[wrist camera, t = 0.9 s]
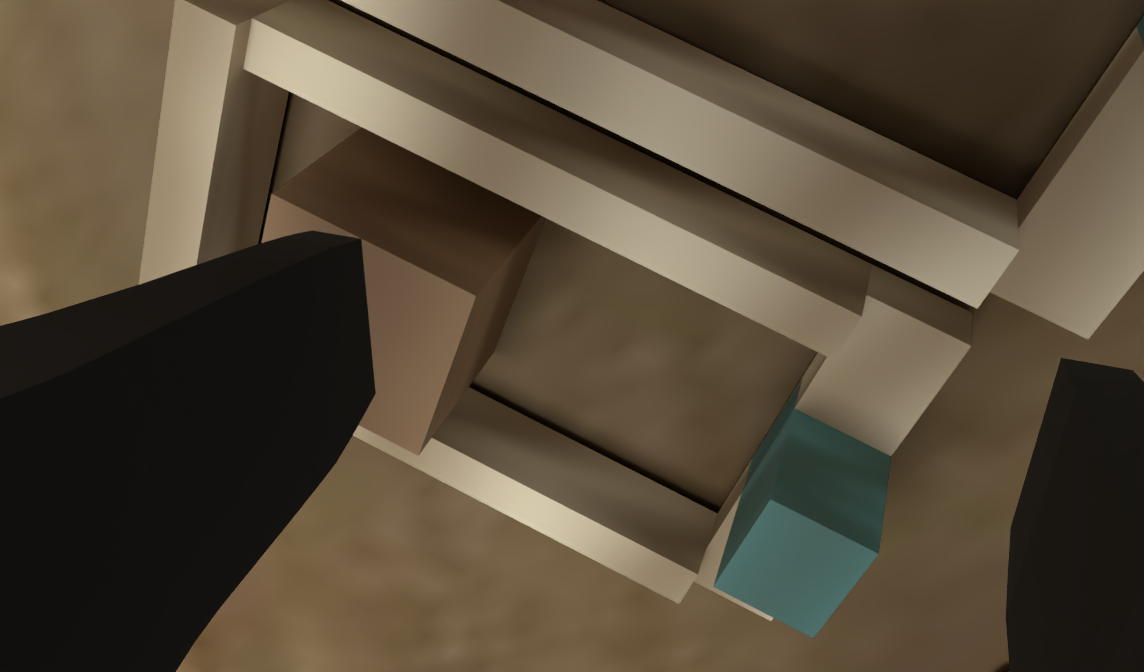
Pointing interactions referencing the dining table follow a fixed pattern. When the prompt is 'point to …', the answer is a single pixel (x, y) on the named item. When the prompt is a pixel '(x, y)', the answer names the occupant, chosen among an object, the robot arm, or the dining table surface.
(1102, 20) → the dining table surface
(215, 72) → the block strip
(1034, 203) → the teal-tipped beige rail
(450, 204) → the walnut block
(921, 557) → the dining table surface
